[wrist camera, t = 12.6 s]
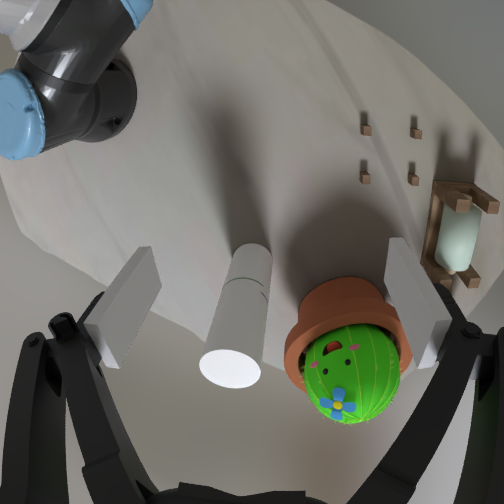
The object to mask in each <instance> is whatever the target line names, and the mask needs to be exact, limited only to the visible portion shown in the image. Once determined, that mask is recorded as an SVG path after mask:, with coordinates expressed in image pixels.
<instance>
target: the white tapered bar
mask: <svg viewBox="0 0 504 504" xmlns="http://www.w3.org/2000/svg"><path fill="white" fill-rule="evenodd" d="M272 264H273V259H272V256H271V254H270V252H269V251H268V250H267V249H266V248H265V247H263V246H262V245H259V244H255V243H248V244H244V245H242V246H240V247H239V248H238V249H237V250H236V251H235V253H234V255H233V258H232V261H231V264H230V267H229V270H228V274H227V277H226V280H225V283H224V286H223V289H222V292H221V295H220V299H219V302H218V305H217V308H216V311H215V314H214V318H213V321H212V324H211V327H210V330H209V334H208V337H207V340H206V343H205V347H204V350H203V353H202V356H201V359H200V370H201V372H202V373H203V375H204V376H205V377H206V378H207V379H208V380H210V381H211V382H213V383H215V384H217V385H220V386H223V387H228V388H244V387H248V386H251V385H252V384H254V383H255V382H256V381H257V380H258V379H259V377H260V373H261V365H262V357H263V348H264V339H265V330H266V321H267V312H268V303H269V293H270V283H271V274H272Z"/></svg>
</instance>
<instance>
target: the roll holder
mask: <svg viewBox="0 0 504 504" xmlns="http://www.w3.org/2000/svg"><path fill="white" fill-rule="evenodd" d="M461 193H464V194H468V195H470V196H471V197H472V202H471V204H472V205H474V204H476V205H477V206H478V207H480V208H481V209H482V210H483V211H485V212H486V213H487V214H498V211H499V206H500V202H499V201H498V200H496V199H495V198H493V197H492V196H491V195H489V194H488V193H486V192H485V191H483V190H482V189H480V188H479V187H477V185H475V184H472V183H461V182H448V181H434V180H433V187H432V195H431V203H430V210H429V217H428V224H427V230H426V236H425V241H424V247H423V252H422V257H421V262H420V264H421V265H422V266H423V267H424V269H425V270H426V272H427V273H428V275H429V277H430V278H431V280H432V282H433V283H441V284H442V285H443V286H445V287H446V288H447V289H448V290H450V287H451V283H452V278H451V277H450V275H449V274H448V273H447V271H446V270H445V268H444V267H442V266H441V265H439V264H438V263H437V262H436V261H435V258H434V256H435V251H436V246H437V241H438V236H439V231H440V226H441V220H442V214H443V208H444V202H445V203H446V204H447V205H448V206H449V207H450V208H451V209H453V210H454V211H455V212H465V213H468V210H469V204H470V199H468V198H467V197H466V196H464V195H463V194H461ZM456 273H457V274H458V275H459V277H460V278H461V280H462V281H463V282H464V284H465V285H466V287H467V288H478V286H479V283H480V280H481V277H480V276H479V275H478V274H477V272H476V271H475V270H474V269H473V267H472V266H471V265H469V268H468V269H467V270H464V271H456Z"/></svg>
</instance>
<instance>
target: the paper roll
mask: <svg viewBox="0 0 504 504" xmlns="http://www.w3.org/2000/svg"><path fill="white" fill-rule="evenodd" d="M461 194H463V195H464V196H466V197H467V198H468V199H470V204H469V210H468V213H465V212H455V211H454V210H453V209H451V208H450V207H449V206H448V205H447V204H446V203H445V202H444V208H443V214H442V220H441V226H440V231H439V236H438V241H437V246H436V251H435V256H434V258H435V261H436V262H437V263H438V264H439V265H441V266H442V267H444V268H445V270H446V271H447V273H448V274H455V273H456V271H464V270H467V269H468V268H469V265H470V261H471V258H472V254H473V250H474V246H475V242H476V238H477V234H478V229H479V225H480V220H481V215H482V211H481V210H480V209H479V208H478V207H476V206H474V205H472V204H471V202H472V197H471V196H470V195H468V194H464V193H461Z"/></svg>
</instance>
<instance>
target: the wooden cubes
mask: <svg viewBox="0 0 504 504" xmlns="http://www.w3.org/2000/svg"><path fill="white" fill-rule="evenodd" d="M361 134H362V135H366V136H371V126H369V125H361ZM410 137H412V138H414V139H422V130H419V129H414V128H411V129H410ZM360 181H361V183H362V184H370V175H369V173H368V172H360ZM408 183H409V184H411V185H412V186H418V184H419V177H418V176H417V175H415V174H408Z"/></svg>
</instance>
